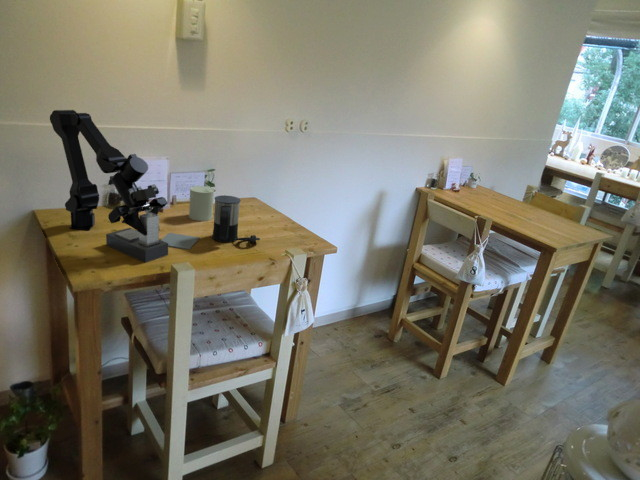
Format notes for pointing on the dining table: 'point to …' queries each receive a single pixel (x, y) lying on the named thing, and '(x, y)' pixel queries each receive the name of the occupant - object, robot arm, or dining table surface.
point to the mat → (180, 240)
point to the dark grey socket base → (135, 245)
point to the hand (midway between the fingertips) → (152, 233)
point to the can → (201, 203)
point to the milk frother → (227, 220)
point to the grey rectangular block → (149, 230)
